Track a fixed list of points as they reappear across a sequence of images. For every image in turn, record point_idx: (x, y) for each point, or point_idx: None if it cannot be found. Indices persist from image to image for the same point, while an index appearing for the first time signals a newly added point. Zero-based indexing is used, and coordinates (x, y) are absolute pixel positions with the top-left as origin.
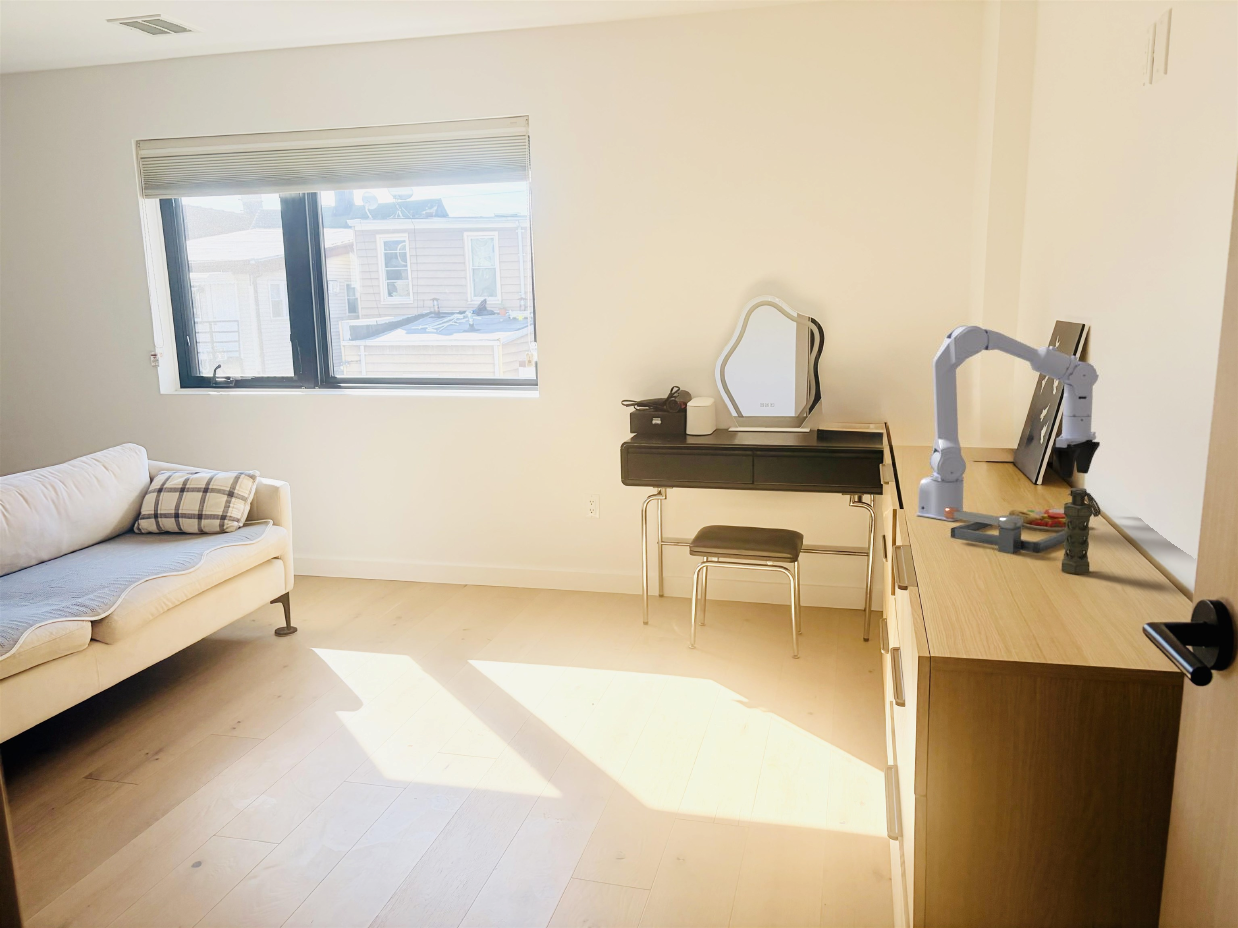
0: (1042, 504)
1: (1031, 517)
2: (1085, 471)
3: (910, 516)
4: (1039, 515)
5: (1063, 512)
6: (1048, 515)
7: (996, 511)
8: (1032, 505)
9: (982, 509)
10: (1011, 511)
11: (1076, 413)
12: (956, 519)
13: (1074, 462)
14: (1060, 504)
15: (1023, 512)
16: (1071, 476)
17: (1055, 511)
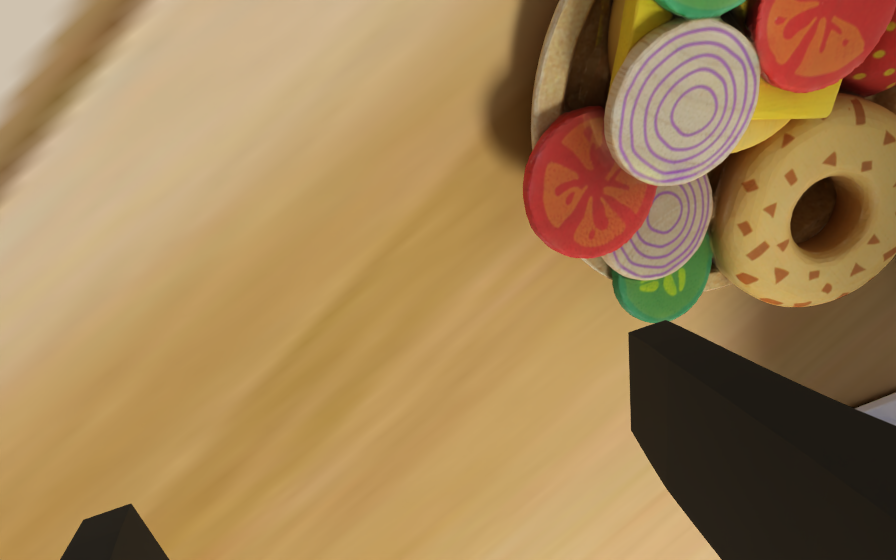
0: (189, 550)
1: (887, 126)
2: (135, 542)
3: None
4: (685, 211)
5: (727, 38)
6: (875, 41)
7: (580, 484)
8: (275, 544)
9: (588, 536)
10: (885, 265)
11: None
12: (894, 395)
13: (878, 472)
14: (61, 521)
15: (800, 250)
16: (673, 331)
17: (729, 106)
